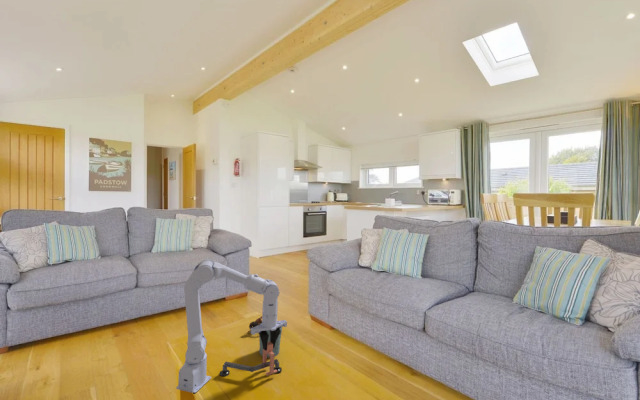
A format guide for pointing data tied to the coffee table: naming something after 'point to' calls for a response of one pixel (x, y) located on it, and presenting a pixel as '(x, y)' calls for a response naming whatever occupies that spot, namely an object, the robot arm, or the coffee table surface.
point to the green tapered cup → (277, 344)
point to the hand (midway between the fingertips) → (268, 348)
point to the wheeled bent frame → (248, 367)
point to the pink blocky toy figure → (271, 354)
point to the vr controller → (255, 323)
